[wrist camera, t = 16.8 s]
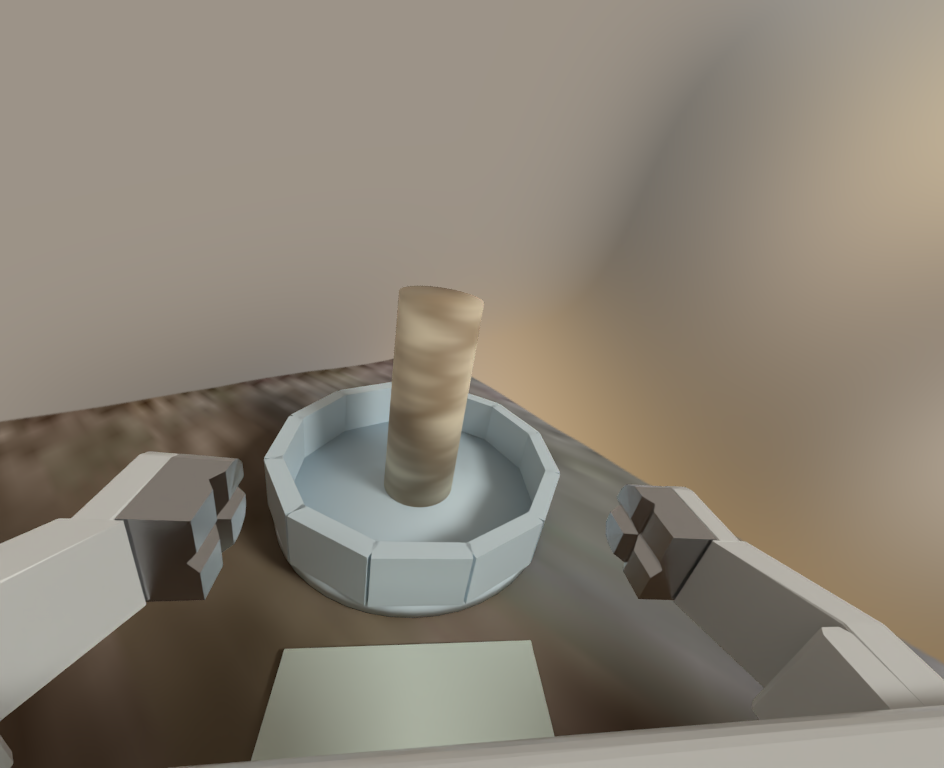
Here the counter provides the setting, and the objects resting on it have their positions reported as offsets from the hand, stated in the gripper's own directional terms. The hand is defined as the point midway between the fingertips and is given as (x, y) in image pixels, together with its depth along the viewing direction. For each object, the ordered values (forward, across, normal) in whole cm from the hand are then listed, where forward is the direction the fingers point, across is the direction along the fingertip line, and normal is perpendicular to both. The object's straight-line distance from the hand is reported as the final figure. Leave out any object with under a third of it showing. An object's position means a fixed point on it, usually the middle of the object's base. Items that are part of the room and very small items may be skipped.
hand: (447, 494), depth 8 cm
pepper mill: (+16, -1, +13) cm, 21 cm away
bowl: (+16, -1, +14) cm, 21 cm away
